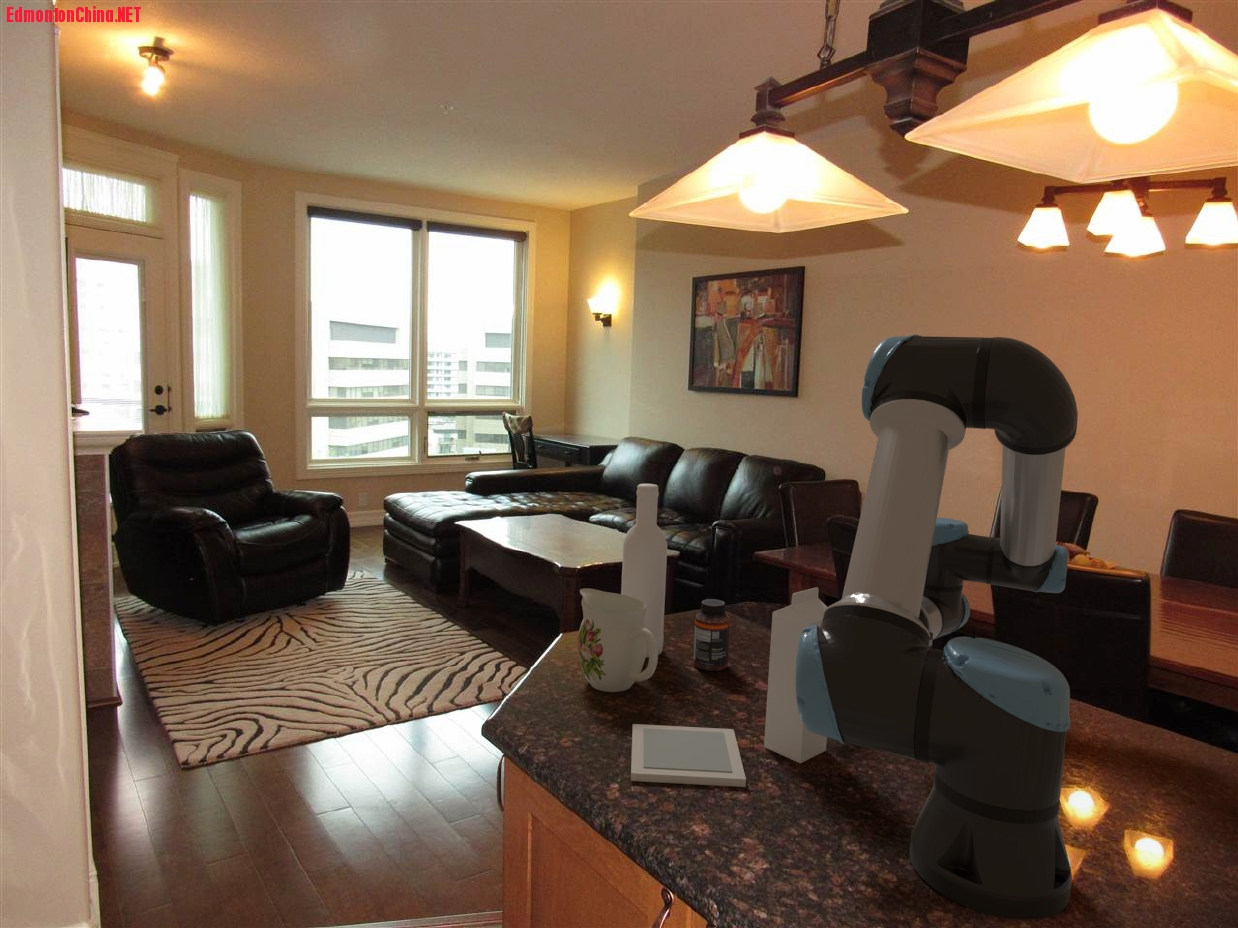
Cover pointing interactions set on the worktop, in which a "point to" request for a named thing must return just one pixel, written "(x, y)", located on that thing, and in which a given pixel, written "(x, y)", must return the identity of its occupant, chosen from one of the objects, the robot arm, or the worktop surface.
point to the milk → (790, 679)
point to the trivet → (686, 755)
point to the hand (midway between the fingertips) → (832, 651)
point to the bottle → (646, 562)
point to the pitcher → (614, 641)
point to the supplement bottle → (711, 636)
